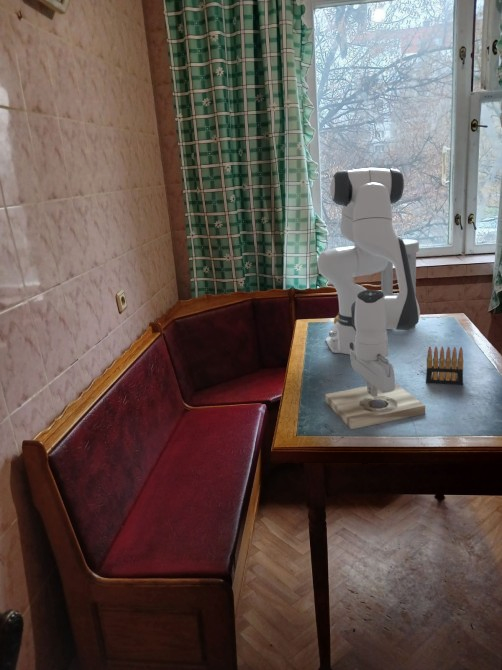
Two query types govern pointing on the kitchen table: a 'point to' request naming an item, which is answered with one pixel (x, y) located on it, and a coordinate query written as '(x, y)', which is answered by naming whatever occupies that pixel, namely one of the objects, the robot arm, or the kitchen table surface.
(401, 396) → the board
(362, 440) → the kitchen table surface
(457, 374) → the ammunition clip
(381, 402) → the ball
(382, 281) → the stool
